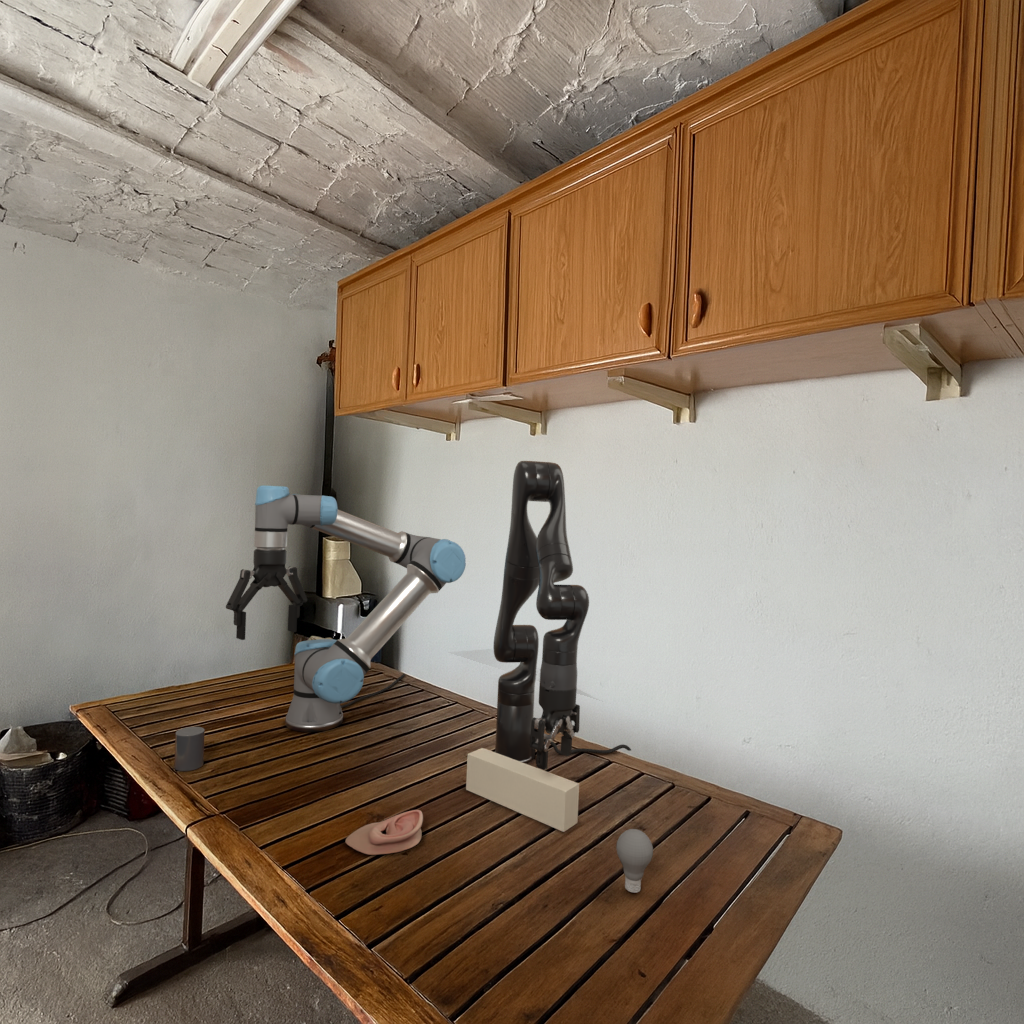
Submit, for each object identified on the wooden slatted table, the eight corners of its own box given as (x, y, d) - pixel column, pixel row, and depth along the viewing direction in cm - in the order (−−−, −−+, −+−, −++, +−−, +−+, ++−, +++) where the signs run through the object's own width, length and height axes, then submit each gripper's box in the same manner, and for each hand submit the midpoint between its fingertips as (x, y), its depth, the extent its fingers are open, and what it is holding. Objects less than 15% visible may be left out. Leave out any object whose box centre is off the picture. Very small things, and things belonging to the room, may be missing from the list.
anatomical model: (338, 827, 114) (365, 799, 125) (337, 849, 114) (364, 818, 125) (408, 839, 111) (429, 808, 122) (407, 861, 111) (428, 828, 122)
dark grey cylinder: (196, 758, 150) (197, 724, 150) (208, 765, 146) (209, 731, 146) (169, 765, 145) (170, 731, 145) (181, 773, 142) (182, 738, 142)
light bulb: (610, 879, 108) (613, 822, 108) (644, 879, 109) (647, 822, 109) (619, 902, 102) (622, 840, 102) (655, 901, 103) (658, 840, 103)
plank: (465, 789, 140) (467, 753, 140) (480, 782, 144) (482, 747, 144) (563, 832, 124) (565, 791, 124) (577, 822, 128) (579, 783, 127)
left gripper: (306, 545, 167) (303, 625, 167) (212, 549, 148) (209, 639, 148) (323, 548, 162) (320, 630, 163) (228, 551, 143) (225, 645, 143)
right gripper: (562, 671, 136) (558, 745, 137) (522, 686, 125) (517, 766, 125) (592, 679, 131) (588, 756, 132) (553, 695, 120) (548, 779, 121)
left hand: (267, 635), depth 155 cm, fingers open, 13 cm apart
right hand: (553, 761), depth 129 cm, fingers open, 8 cm apart
